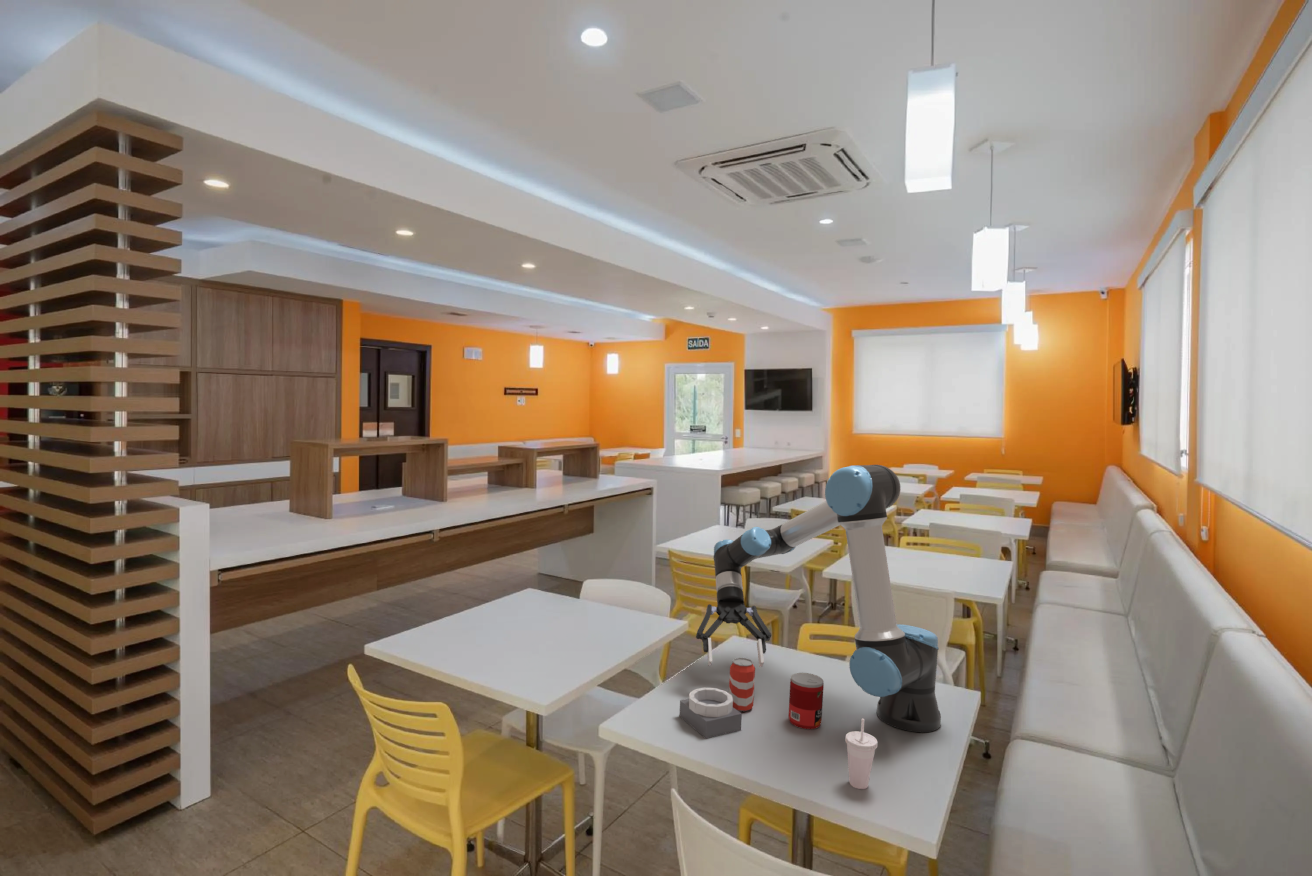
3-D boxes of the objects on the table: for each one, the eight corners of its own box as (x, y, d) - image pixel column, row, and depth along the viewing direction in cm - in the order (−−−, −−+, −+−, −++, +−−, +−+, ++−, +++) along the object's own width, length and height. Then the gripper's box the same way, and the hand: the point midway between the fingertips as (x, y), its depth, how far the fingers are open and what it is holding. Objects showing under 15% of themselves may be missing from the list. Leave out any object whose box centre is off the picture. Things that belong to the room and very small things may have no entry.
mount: (741, 730, 161) (743, 703, 161) (704, 738, 156) (706, 711, 156) (714, 709, 172) (715, 683, 171) (678, 716, 167) (679, 690, 166)
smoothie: (844, 790, 137) (848, 723, 137) (841, 773, 144) (844, 709, 143) (877, 794, 136) (881, 727, 136) (872, 777, 143) (876, 712, 142)
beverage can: (734, 714, 169) (736, 667, 169) (724, 703, 176) (727, 657, 175) (756, 712, 171) (759, 665, 170) (746, 701, 177) (748, 656, 176)
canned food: (822, 731, 162) (824, 686, 161) (788, 727, 164) (790, 682, 163) (820, 717, 170) (823, 674, 169) (788, 713, 171) (790, 670, 171)
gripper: (770, 599, 195) (780, 671, 181) (684, 596, 194) (687, 668, 180) (775, 586, 190) (785, 659, 175) (687, 583, 188) (690, 656, 174)
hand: (736, 664), depth 178 cm, fingers open, 13 cm apart
